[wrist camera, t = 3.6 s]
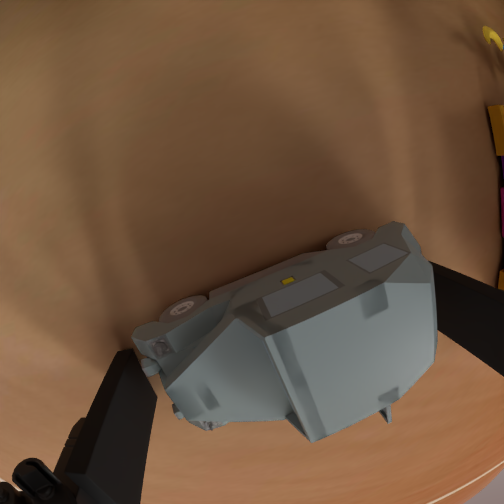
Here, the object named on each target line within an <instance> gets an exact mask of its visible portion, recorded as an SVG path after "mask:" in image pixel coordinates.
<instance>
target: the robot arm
mask: <svg viewBox="0 0 504 504" xmlns="http://www.w3.org/2000/svg"><path fill="white" fill-rule="evenodd" d="M428 262H429V263H430V264H431V265H432V267H433V276H434V285H435V297H436V312H437V330H439V331H440V332H442V333H443V334H444V335H446V336H447V337H449V338H450V339H452V340H453V341H455V342H456V343H458V344H459V345H460V346H462V347H463V348H465V349H466V350H468V351H469V352H470V353H472V354H473V355H475V356H476V357H477V358H479V359H480V360H482V361H483V362H484V363H486V364H487V365H489V366H490V367H491V368H493V369H494V370H495V371H497V372H498V373H500V374H501V375H502V376H504V290H501V289H497V288H494V287H492V286H490V285H487V284H485V283H483V282H480V281H478V280H475V279H473V278H471V277H468V276H466V275H463V274H461V273H458V272H456V271H453V270H451V269H448V268H446V267H443V266H441V265H438V264H436V263H433V262H431V261H428ZM156 402H157V395H156V394H155V392H154V390H153V388H152V386H151V384H150V382H149V381H148V379H147V377H146V375H145V373H144V371H143V370H142V367H141V365H140V363H139V361H138V359H137V356H136V354H135V352H134V350H133V348H132V349H127V350H122V351H117V353H116V355H115V357H114V359H113V361H112V363H111V365H110V367H109V369H108V371H107V373H106V375H105V377H104V379H103V381H102V384H101V386H100V388H99V390H98V392H97V394H96V396H95V399H94V401H93V403H92V405H91V407H90V410H89V412H88V414H87V416H86V418H81V419H80V420H79V421H78V422H77V423H76V424H75V425H74V426H73V428H72V430H71V432H70V434H69V436H68V438H69V439H67V441H66V443H65V447H64V448H63V450H62V453H61V455H60V457H59V460H58V462H57V465H56V467H55V469H54V472H52V471H51V470H50V469H49V468H48V467H47V466H46V465H45V464H44V463H43V462H42V461H41V460H39V459H37V458H28V459H25V460H23V461H22V462H20V463H19V464H18V465H17V466H16V468H15V469H14V472H13V474H12V481H13V482H14V483H15V484H16V485H17V486H18V487H19V488H20V489H22V490H23V491H17V490H16V489H15V488H14V487H13V486H12V485H11V484H10V483H8V482H0V504H140V501H141V493H142V485H143V478H144V471H145V465H146V458H147V452H148V446H149V440H150V434H151V429H152V423H153V418H154V412H155V407H156Z"/></svg>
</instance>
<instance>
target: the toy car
mask: <svg viewBox="0 0 504 504" xmlns="http://www.w3.org/2000/svg"><path fill="white" fill-rule="evenodd" d="M326 249H327V250H325V251H317V252H310V253H302V254H300V255H298V256H295V257H293V258H291V259H288V260H286V261H283V262H281V263H279V264H276V265H274V266H271V267H269V268H266V269H264V270H262V271H259V272H257V273H254V274H252V275H249V276H247V277H244V278H242V279H240V280H237V281H235V282H232V283H230V284H227V285H225V286H222V287H220V288H217V289H215V290H212V291H210V292H209V300H207V298H206V296H202V295H197V296H191V297H188V298H185V299H182V300H180V301H178V302H176V303H174V304H173V305H171V306H169V307H168V308H167V309H166V310H165V311H163V313H162V314H161V316H160V317H159V322H156V321H152V322H149V323H146V324H144V325H141V326H138V327H136V328H135V330H134V332H133V334H132V336H131V338H132V340H133V341H134V343H135V345H136V346H137V348H138V349H139V351H140V353H141V354H142V355H145V356H147V358H145V359H141V364H142V370H143V371H144V373H145V374H146V376H147V377H150V376H153V375H155V374H157V373H158V372H159V374H160V378H161V381H162V384H163V387H164V389H165V391H166V393H167V394H168V396H169V397H170V398H171V400H172V401H173V402H174V404H172V407H173V412H174V414H175V415H176V417H177V418H178V419H182V418H184V417H185V418H186V420H188V421H189V423H191V424H193V425H195V426H197V427H199V428H201V429H203V430H206V431H207V430H213V429H214V428H218V427H221V426H224V425H226V424H227V423H228V422H251V421H274V420H285V419H287V420H288V421H289V422H290V423H291V424H292V425H293V426H294V427H295V428H296V429H297V430H298V431H299V432H300V433H301V434H302V435H303V436H305V437H306V438H307V439H308V440H309V441H310V442H311V443H313V442H315V441H318V440H320V439H322V438H325V437H327V436H329V435H332V434H334V433H336V432H338V431H340V430H342V429H345V428H347V427H349V426H351V425H353V424H355V423H357V422H359V421H361V420H363V419H365V418H367V417H368V416H370V415H372V414H374V413H376V412H378V411H379V412H380V414H381V415H382V416H383V418H384V419H385V421H386V422H387V423H388V424H389V423H390V422H392V417H391V405H390V404H392V403H394V402H395V401H397V400H399V399H400V398H401V397H402V396H403V395H404V394H405V393H406V392H407V391H408V390H409V389H410V388H411V387H412V386H413V385H414V384H415V382H416V381H417V380H418V379H419V378H420V377H421V376H422V375H423V374H424V373H425V372H426V370H427V369H428V368H429V367H430V366H431V365H432V364H433V362H434V360H435V354H436V348H437V312H436V297H435V285H434V276H433V267H432V265H431V264H430V263H429V262H428V261H427V260H426V259H425V257H424V256H423V255H422V254H421V248H420V245H419V244H418V242H417V241H416V239H415V238H414V237H413V235H412V234H411V232H410V231H409V229H408V228H407V227H406V225H405V224H404V223H399V222H395V221H392V222H390V223H388V224H386V225H384V226H381V227H379V228H378V230H377V231H376V233H375V232H374V231H372V230H367V229H359V230H353V231H349V232H346V233H343V234H340V235H338V236H336V237H334V238H333V239H332V240H330V241H329V242H328V243H327V245H326Z"/></svg>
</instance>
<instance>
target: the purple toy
mask: <svg viewBox="0 0 504 504" xmlns="http://www.w3.org/2000/svg"><path fill="white" fill-rule="evenodd" d="M483 34H484V38H485V40H486V41H487V42H488V44H490V45H491V40H490V39H492V40H493V41H494V42H495V43H496V45H497V46H498V48H499V49H500V51H501V52H502V50H503V49H504V45H503V44H502V42H501V39H500V38H499V36H498V35H497V34H496V33H495V32H494V31H493V30H492V29H491V28H490V27H487V26H484V27H483ZM502 39H503V41H504V38H502ZM487 107H488V111H489V115H490V120H491V125H492V130H493V135H494V141H495V147H496V154H497V156H501V159H502V167H503V177H504V106H503V105H493V106H487ZM500 189H501V208H502V237H504V187H503V188H500ZM498 289H501V290H504V269H503V270H501V271H500V274H499V284H498Z"/></svg>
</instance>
